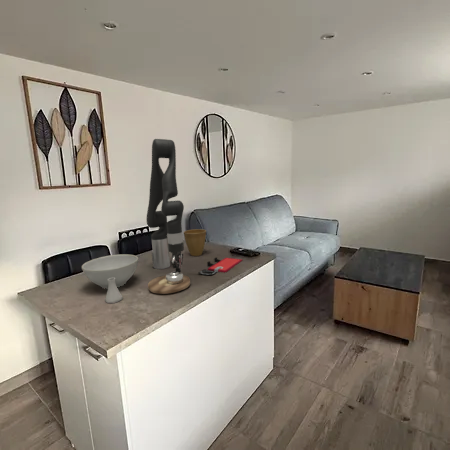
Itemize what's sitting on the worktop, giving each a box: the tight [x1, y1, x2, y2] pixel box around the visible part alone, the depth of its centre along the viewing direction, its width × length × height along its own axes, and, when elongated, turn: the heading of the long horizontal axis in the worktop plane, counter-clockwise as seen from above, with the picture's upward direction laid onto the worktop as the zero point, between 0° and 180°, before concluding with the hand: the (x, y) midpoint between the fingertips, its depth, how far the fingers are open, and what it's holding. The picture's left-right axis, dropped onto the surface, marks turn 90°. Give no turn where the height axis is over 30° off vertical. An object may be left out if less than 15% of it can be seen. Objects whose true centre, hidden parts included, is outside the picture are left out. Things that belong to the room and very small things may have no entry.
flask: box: [104, 278, 124, 304], centre depth 130 cm, size 7×7×10 cm
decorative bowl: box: [81, 253, 139, 290], centre depth 149 cm, size 27×27×12 cm
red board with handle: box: [198, 257, 243, 276], centre depth 167 cm, size 30×3×15 cm
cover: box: [165, 270, 184, 285], centre depth 141 cm, size 8×8×5 cm
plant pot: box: [183, 228, 207, 257], centre depth 194 cm, size 15×15×16 cm
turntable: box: [147, 274, 191, 295], centre depth 142 cm, size 20×20×3 cm
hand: (178, 274), depth 147 cm, fingers closed
